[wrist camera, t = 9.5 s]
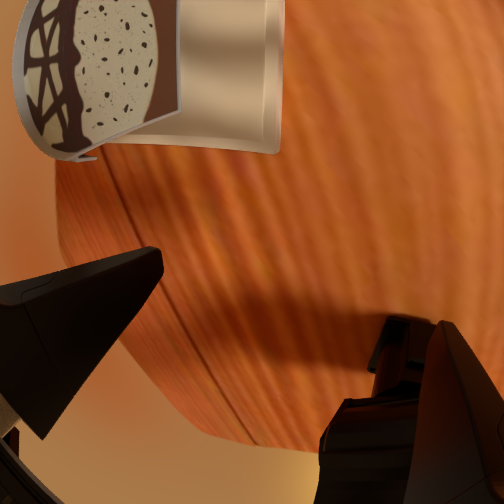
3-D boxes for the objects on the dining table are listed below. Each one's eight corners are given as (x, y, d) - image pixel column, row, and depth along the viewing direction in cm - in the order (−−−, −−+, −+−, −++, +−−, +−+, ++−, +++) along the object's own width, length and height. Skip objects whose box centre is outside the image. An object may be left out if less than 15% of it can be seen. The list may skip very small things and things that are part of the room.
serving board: (283, 148, 21) (272, 154, 20) (118, 138, 27) (101, 143, 25) (289, -59, 13) (278, -71, 11) (117, -19, 18) (100, -21, 17)
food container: (119, -4, 17) (12, -9, 9) (181, -25, 15) (65, -53, 7) (123, 133, 23) (19, 169, 15) (182, 132, 21) (67, 171, 13)
